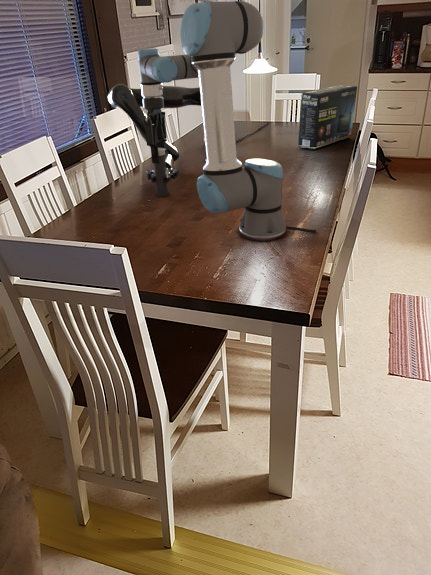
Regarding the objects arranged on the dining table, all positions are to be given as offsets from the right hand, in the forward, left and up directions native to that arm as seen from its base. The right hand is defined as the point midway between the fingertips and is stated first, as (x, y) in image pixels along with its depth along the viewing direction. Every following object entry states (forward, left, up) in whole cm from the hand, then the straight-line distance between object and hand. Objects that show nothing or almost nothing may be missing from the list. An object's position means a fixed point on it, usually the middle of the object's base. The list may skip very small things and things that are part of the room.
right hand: (159, 160), depth 178 cm
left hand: (-1, +2, -7) cm, 7 cm away
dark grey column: (0, 0, -14) cm, 14 cm away
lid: (0, 0, +4) cm, 4 cm away
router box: (-33, -102, -14) cm, 108 cm away
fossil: (+20, -82, -14) cm, 86 cm away
